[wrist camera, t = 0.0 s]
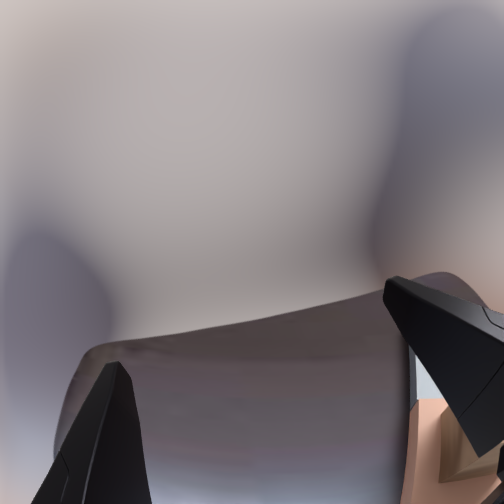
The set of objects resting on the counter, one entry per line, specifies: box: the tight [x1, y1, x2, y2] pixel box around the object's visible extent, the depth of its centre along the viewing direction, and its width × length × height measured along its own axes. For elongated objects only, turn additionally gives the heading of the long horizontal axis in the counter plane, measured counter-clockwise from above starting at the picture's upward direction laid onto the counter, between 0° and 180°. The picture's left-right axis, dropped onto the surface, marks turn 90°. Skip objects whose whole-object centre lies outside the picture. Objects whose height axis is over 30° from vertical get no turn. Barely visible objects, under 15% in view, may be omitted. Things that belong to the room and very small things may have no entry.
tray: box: [409, 346, 444, 410], centre depth 21 cm, size 10×10×2 cm
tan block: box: [438, 406, 504, 483], centre depth 10 cm, size 6×6×8 cm
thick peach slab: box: [400, 398, 501, 504], centre depth 12 cm, size 10×10×2 cm
